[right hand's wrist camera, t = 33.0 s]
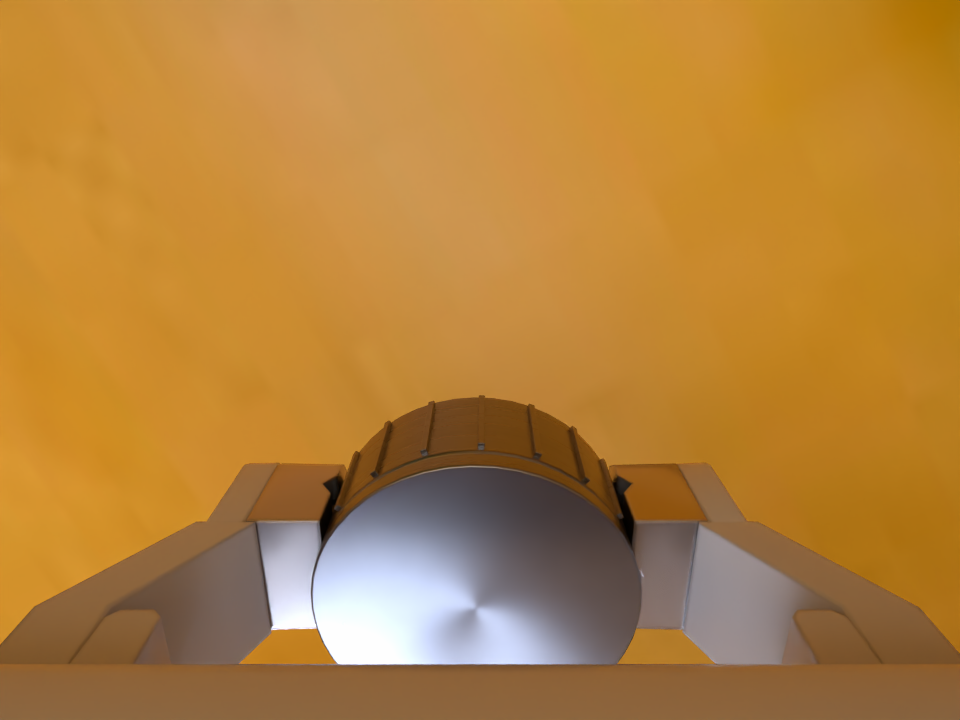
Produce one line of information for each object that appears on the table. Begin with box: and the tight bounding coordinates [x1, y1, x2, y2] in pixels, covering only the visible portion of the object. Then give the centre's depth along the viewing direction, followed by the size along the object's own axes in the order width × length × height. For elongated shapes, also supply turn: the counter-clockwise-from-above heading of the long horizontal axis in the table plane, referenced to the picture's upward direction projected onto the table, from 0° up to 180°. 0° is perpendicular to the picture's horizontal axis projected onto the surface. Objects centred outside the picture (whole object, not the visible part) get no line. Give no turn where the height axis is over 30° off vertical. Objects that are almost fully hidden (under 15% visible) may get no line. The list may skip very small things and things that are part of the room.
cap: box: [311, 395, 642, 664], centre depth 9 cm, size 4×4×2 cm
